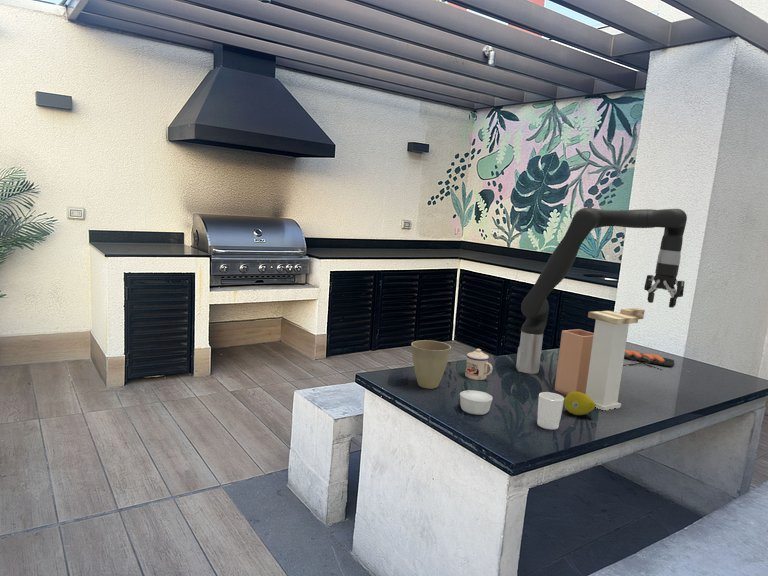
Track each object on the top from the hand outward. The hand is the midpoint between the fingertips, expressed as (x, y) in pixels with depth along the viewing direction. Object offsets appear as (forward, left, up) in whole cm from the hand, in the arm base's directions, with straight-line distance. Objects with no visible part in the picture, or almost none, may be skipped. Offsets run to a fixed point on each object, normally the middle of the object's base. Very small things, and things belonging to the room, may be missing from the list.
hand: (660, 304), depth 211 cm
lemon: (-33, -25, -38) cm, 56 cm away
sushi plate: (+19, +57, -38) cm, 71 cm away
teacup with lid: (-64, +7, -38) cm, 75 cm away
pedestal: (-21, -12, -37) cm, 44 cm away
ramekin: (-69, -30, -38) cm, 84 cm away
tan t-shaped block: (-17, -9, -5) cm, 20 cm away
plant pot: (-85, -9, -38) cm, 93 cm away
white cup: (-46, -38, -38) cm, 70 cm away
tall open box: (-28, -1, -37) cm, 47 cm away
